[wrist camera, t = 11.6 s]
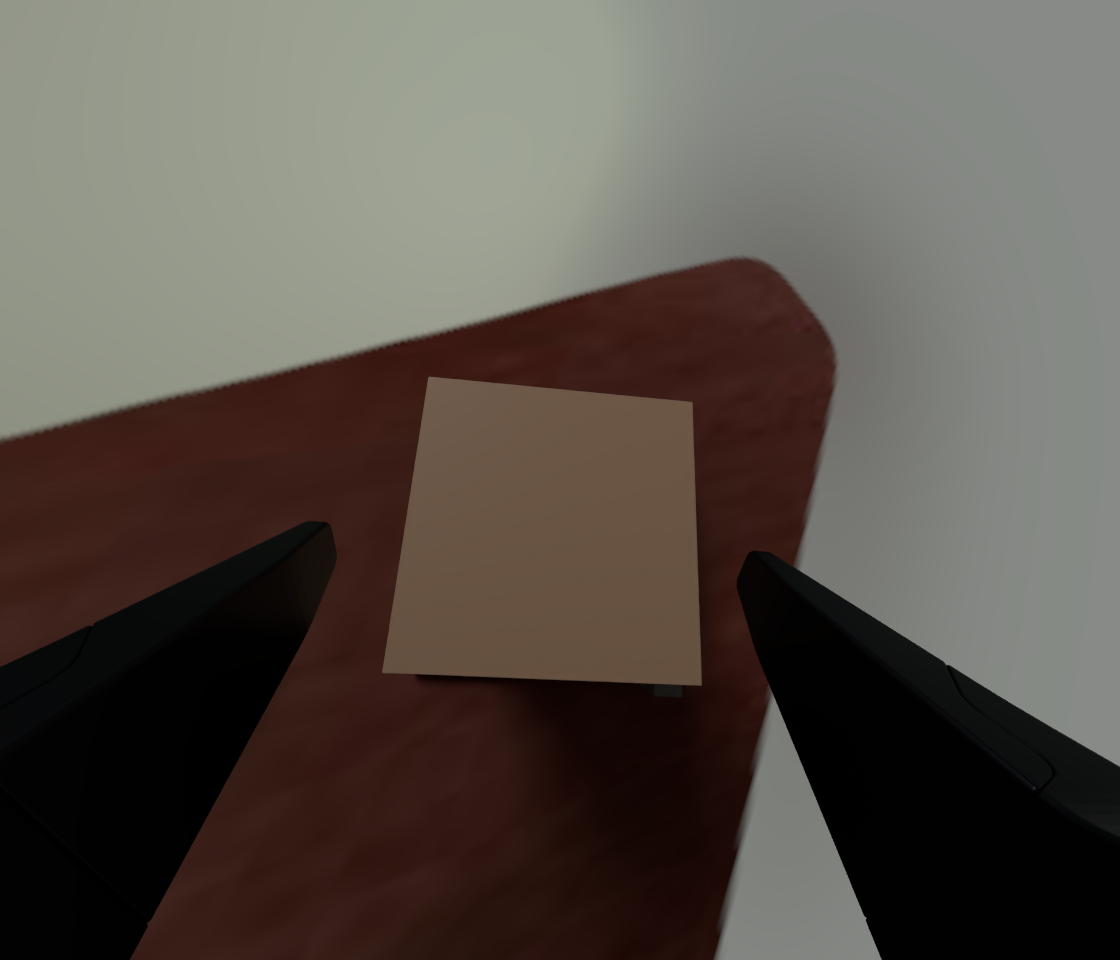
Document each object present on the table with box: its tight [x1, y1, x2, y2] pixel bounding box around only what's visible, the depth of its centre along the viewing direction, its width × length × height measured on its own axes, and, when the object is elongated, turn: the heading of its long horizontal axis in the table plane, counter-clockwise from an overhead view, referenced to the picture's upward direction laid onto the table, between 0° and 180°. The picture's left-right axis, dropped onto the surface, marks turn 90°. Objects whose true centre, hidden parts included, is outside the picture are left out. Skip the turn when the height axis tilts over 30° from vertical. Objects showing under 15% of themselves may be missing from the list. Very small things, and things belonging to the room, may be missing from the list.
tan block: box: [382, 377, 702, 686], centre depth 12 cm, size 5×5×11 cm
